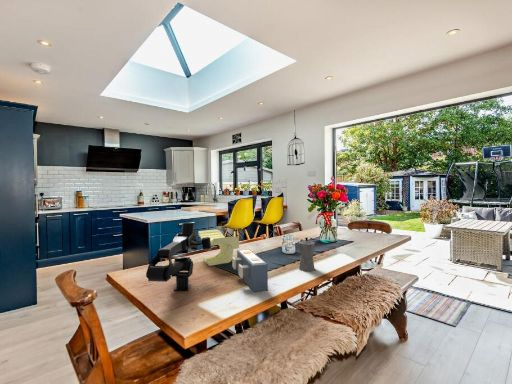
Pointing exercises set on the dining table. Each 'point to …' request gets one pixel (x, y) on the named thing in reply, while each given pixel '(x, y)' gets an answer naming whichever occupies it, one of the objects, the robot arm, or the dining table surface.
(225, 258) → the slatted curved stool
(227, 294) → the dining table surface
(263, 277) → the switch box
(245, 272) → the button near
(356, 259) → the dining table surface
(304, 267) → the coffeepot
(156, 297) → the dining table surface
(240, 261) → the button far
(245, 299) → the dining table surface
